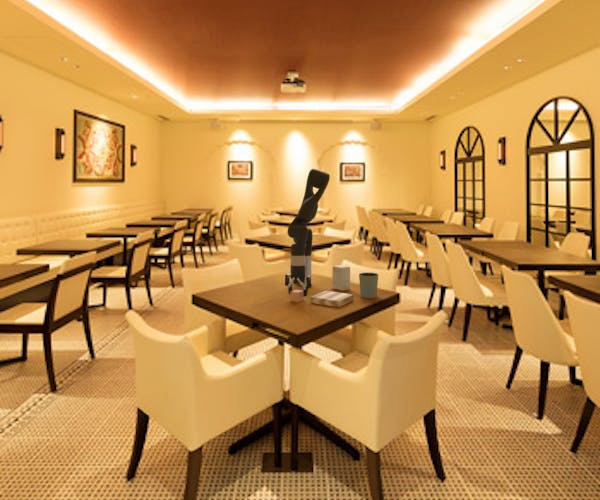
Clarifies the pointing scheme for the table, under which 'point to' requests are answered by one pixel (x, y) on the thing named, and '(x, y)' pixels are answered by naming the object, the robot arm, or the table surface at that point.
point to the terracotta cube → (296, 296)
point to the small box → (341, 277)
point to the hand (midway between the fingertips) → (297, 295)
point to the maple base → (332, 298)
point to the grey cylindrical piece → (368, 285)
